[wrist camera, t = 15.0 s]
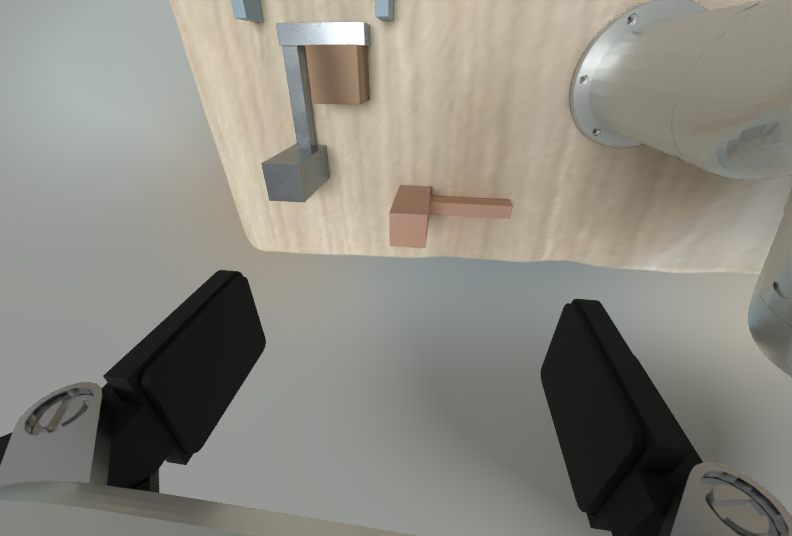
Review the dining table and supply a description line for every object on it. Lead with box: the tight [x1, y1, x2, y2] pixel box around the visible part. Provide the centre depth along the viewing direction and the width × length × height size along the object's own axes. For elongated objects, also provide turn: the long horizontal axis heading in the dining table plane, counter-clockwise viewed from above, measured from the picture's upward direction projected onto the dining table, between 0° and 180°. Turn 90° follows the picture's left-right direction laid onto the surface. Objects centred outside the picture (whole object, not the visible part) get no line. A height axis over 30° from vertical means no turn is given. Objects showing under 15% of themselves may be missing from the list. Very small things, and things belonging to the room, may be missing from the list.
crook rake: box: [261, 22, 370, 202], centre depth 34 cm, size 16×10×9 cm, turn 0°
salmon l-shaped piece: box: [390, 185, 513, 248], centre depth 38 cm, size 14×4×9 cm, turn 90°
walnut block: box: [305, 44, 370, 104], centre depth 34 cm, size 5×5×5 cm
